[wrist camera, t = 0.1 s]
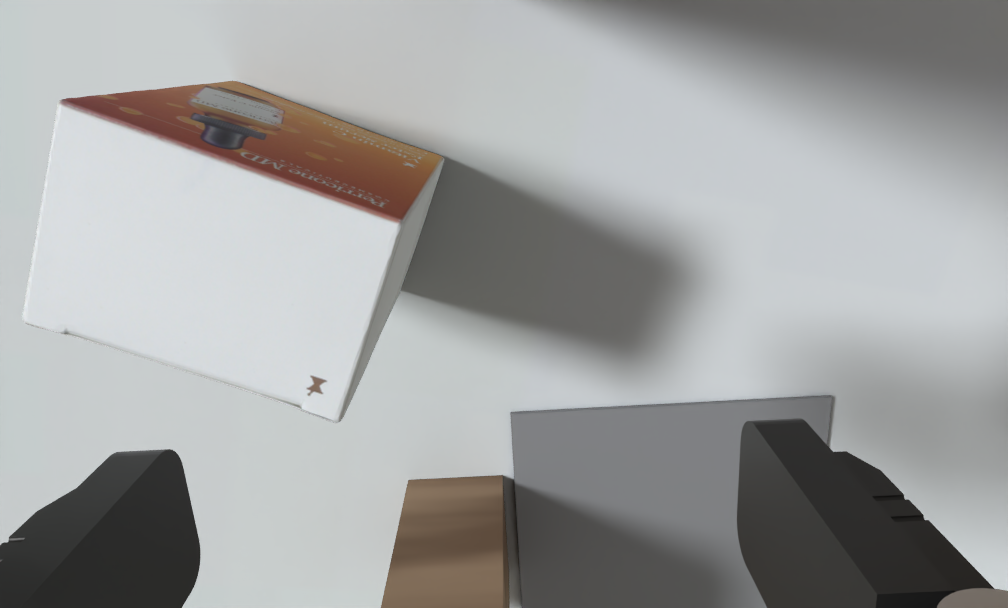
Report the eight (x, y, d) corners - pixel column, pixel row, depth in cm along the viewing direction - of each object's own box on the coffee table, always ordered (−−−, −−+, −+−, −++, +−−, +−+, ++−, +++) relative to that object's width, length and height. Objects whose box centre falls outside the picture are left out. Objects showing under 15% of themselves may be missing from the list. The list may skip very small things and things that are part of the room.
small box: (448, 156, 26) (415, 223, 16) (400, 294, 27) (344, 431, 18) (229, 74, 25) (48, 91, 15) (194, 222, 26) (12, 325, 17)
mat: (510, 412, 29) (510, 414, 29) (829, 395, 29) (832, 397, 29) (523, 624, 33) (523, 627, 33) (806, 610, 33) (808, 614, 32)
